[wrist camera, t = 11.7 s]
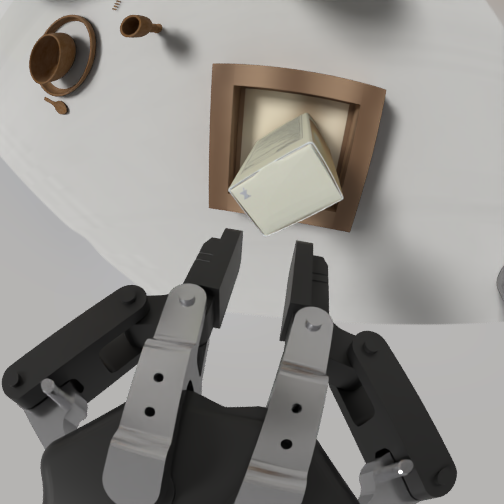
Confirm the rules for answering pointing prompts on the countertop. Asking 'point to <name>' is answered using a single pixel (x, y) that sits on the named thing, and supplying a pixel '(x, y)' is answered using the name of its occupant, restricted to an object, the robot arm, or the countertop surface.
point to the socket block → (282, 111)
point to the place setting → (73, 52)
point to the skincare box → (287, 177)
